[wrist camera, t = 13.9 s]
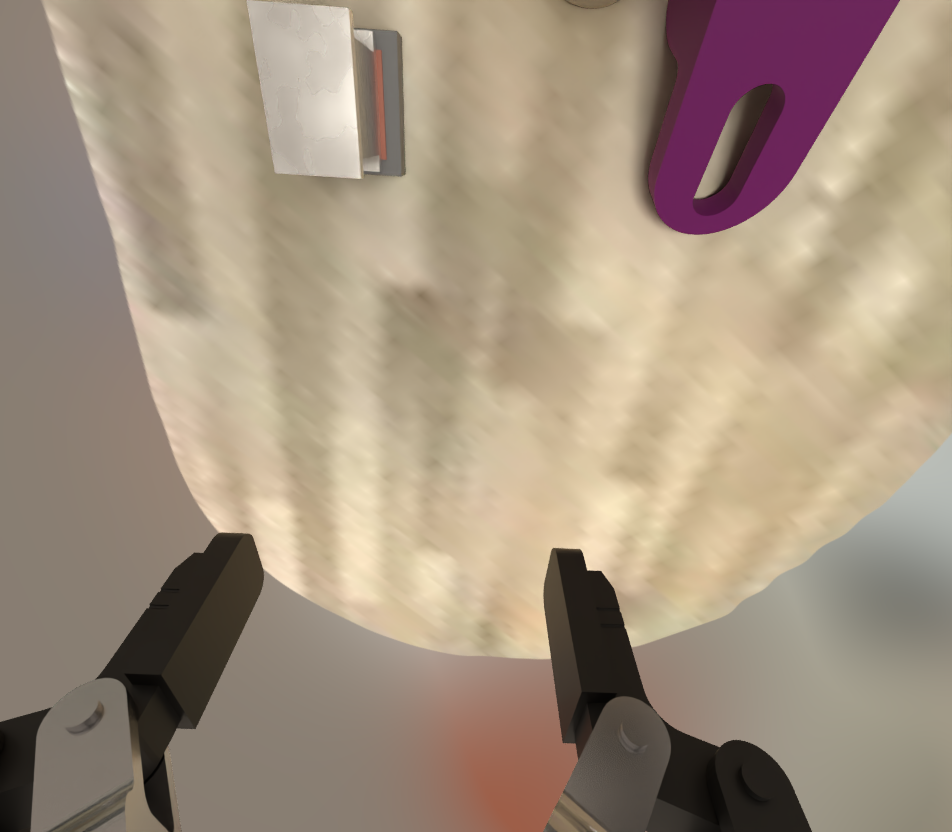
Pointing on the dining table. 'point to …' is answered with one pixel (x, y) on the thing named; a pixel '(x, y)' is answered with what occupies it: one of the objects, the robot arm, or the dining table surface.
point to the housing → (317, 89)
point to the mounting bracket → (734, 74)
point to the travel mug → (592, 3)
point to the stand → (390, 102)
